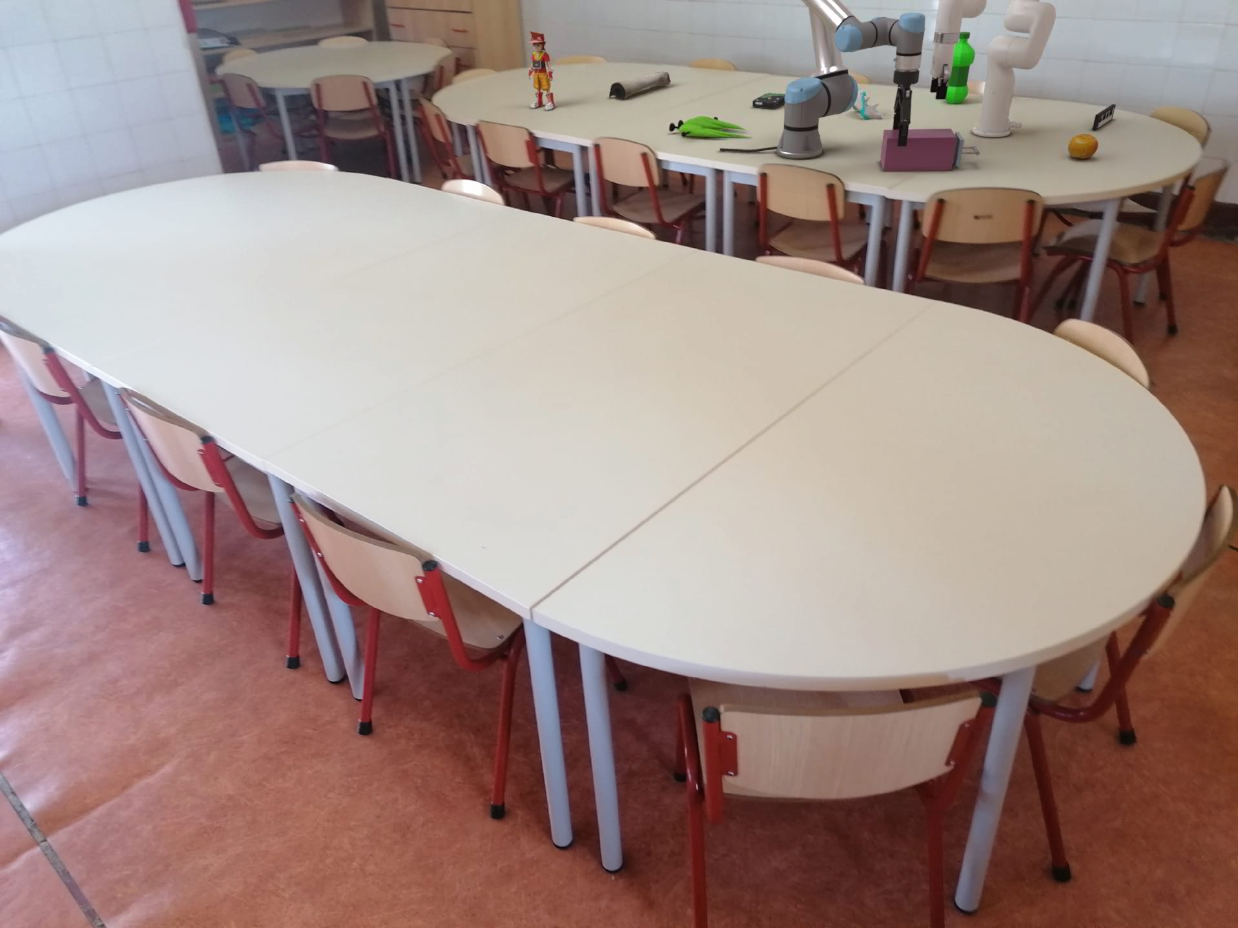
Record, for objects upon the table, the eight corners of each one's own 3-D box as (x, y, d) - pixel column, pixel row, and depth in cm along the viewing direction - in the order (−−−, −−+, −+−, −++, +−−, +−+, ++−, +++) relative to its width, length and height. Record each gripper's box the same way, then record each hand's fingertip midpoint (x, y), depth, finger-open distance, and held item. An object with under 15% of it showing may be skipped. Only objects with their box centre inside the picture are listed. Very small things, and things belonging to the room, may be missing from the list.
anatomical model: (844, 88, 347) (870, 81, 346) (847, 115, 353) (872, 108, 352) (856, 97, 335) (882, 90, 334) (858, 125, 341) (884, 118, 340)
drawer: (973, 158, 292) (977, 131, 287) (978, 166, 285) (983, 139, 280) (892, 159, 295) (895, 133, 291) (895, 167, 288) (899, 141, 283)
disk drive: (775, 110, 359) (790, 101, 369) (775, 102, 358) (790, 94, 368) (751, 108, 364) (767, 99, 374) (752, 100, 362) (767, 92, 372)
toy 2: (658, 135, 331) (731, 150, 319) (659, 121, 329) (733, 135, 316) (693, 123, 352) (763, 136, 339) (694, 110, 349) (765, 122, 336)
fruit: (1064, 149, 286) (1082, 126, 283) (1061, 151, 293) (1078, 129, 290) (1086, 163, 284) (1105, 141, 281) (1083, 166, 292) (1101, 144, 289)
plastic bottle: (973, 101, 354) (984, 32, 339) (955, 106, 349) (966, 36, 335) (952, 97, 361) (962, 29, 346) (934, 102, 356) (944, 33, 342)
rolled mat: (651, 76, 408) (662, 61, 399) (662, 93, 408) (674, 79, 400) (605, 92, 391) (616, 77, 383) (617, 110, 391) (628, 95, 383)
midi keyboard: (1095, 130, 313) (1099, 115, 310) (1091, 129, 314) (1095, 115, 311) (1112, 119, 323) (1116, 104, 320) (1108, 118, 324) (1112, 104, 321)
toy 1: (525, 109, 381) (517, 32, 364) (534, 104, 388) (527, 28, 371) (550, 110, 377) (543, 32, 360) (559, 105, 384) (553, 28, 367)
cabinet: (946, 161, 294) (951, 128, 288) (951, 170, 286) (956, 137, 280) (880, 161, 297) (883, 129, 291) (883, 171, 289) (887, 138, 283)
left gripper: (889, 62, 286) (882, 130, 298) (899, 78, 266) (891, 151, 278) (913, 61, 285) (905, 130, 297) (925, 77, 265) (916, 150, 276)
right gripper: (929, 34, 288) (921, 90, 298) (939, 43, 274) (930, 102, 283) (953, 33, 287) (944, 89, 297) (964, 43, 273) (955, 102, 283)
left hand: (899, 140), depth 287 cm, fingers open, 13 cm apart
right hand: (937, 96), depth 290 cm, fingers open, 9 cm apart
